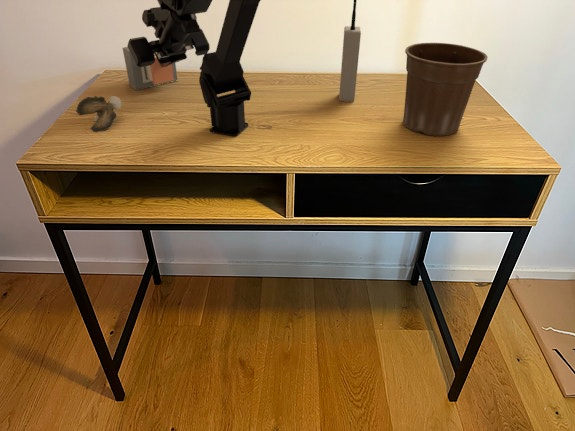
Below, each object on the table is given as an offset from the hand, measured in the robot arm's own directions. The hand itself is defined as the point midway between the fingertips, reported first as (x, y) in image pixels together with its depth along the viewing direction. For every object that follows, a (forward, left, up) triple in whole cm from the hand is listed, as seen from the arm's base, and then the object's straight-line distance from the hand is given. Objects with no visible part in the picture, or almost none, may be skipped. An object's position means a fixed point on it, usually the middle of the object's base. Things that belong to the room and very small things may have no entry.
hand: (162, 65), depth 116 cm
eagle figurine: (+2, +23, -7) cm, 24 cm away
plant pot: (-67, -4, -7) cm, 67 cm away
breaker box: (+6, -4, -7) cm, 10 cm away
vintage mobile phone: (-45, -13, -7) cm, 47 cm away
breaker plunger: (+5, -3, -4) cm, 7 cm away
